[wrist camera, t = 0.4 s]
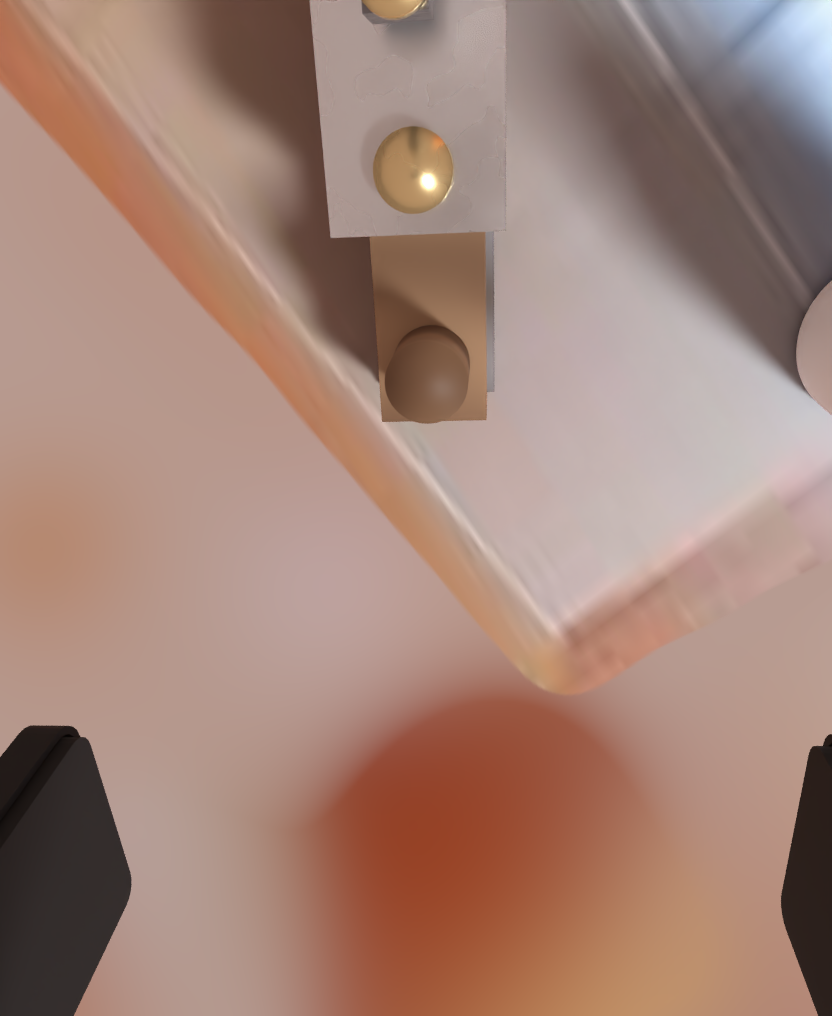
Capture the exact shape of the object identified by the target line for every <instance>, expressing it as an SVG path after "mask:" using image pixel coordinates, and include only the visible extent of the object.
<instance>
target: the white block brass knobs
mask: <svg viewBox="0 0 832 1016" xmlns="http://www.w3.org/2000/svg"><path fill="white" fill-rule="evenodd" d="M433 4H434V20H429V21H414V22H400V23H385V24H372V23H371V22H370V21H369V20H368V19H367V18H366V17H365V16H364V15H363V14H362V3H361V0H310V12H311V23H312V34H313V45H314V57H315V68H316V79H317V91H318V102H319V113H320V124H321V136H322V147H323V158H324V169H325V181H326V192H327V203H328V215H329V226H330V237H331V238H345V237H369V236H394V235H418V234H443V233H467V232H491V231H506V0H433Z"/></svg>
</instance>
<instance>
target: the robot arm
mask: <svg viewBox="0 0 832 1016" xmlns="http://www.w3.org/2000/svg"><path fill="white" fill-rule="evenodd" d="M130 891H131V874H130V870H129V867H128V864H127V860H126V857H125V854H124V851H123V848H122V845H121V841H120V838H119V835H118V831H117V828H116V825H115V822H114V819H113V815H112V812H111V809H110V806H109V803H108V799H107V796H106V793H105V790H104V786H103V783H102V780H101V777H100V774H99V770H98V768H97V764H96V761H95V758H94V755H93V751H92V748H91V745H90V743H89V741H88V740H87V739H86V738H84V737H80V735H79V733H78V731H77V730H76V729H75V728H74V727H71V726H29V727H26V728H25V729H24V730H22V731H21V732H20V733H19V735H18V736H17V737H16V738H15V739H14V741H13V742H12V743H11V744H10V746H9V747H8V748H7V750H6V751H5V752H4V753H3V754H2V756H1V757H0V1016H74V1014H75V1012H76V1009H77V1008H78V1005H79V1003H80V1001H81V999H82V997H83V994H84V993H85V991H86V989H87V987H88V985H89V982H90V980H91V978H92V976H93V974H94V972H95V970H96V968H97V966H98V964H99V961H100V959H101V957H102V955H103V953H104V951H105V949H106V947H107V944H108V943H109V941H110V938H111V936H112V934H113V932H114V930H115V928H116V926H117V924H118V922H119V919H120V917H121V915H122V913H123V911H124V909H125V907H126V905H127V902H128V899H129V896H130ZM781 908H782V915H783V920H784V924H785V927H786V930H787V933H788V936H789V939H790V941H791V944H792V947H793V949H794V952H795V955H796V957H797V960H798V963H799V965H800V968H801V971H802V973H803V976H804V979H805V981H806V984H807V987H808V989H809V992H810V995H811V997H812V1000H813V1003H814V1006H815V1008H816V1011H817V1014H818V1016H832V734H830V735H828V736H827V737H826V739H825V741H824V744H823V746H813V747H812V748H811V750H810V752H809V756H808V761H807V767H806V772H805V777H804V782H803V787H802V793H801V797H800V802H799V808H798V812H797V818H796V823H795V828H794V833H793V838H792V843H791V848H790V853H789V859H788V864H787V869H786V875H785V879H784V884H783V889H782V896H781Z"/></svg>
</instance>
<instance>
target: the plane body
mask: <svg viewBox="0 0 832 1016" xmlns="http://www.w3.org/2000/svg"><path fill="white" fill-rule="evenodd" d="M369 237H370V252H371V267H372V281H373V296H374V310H375V325H376V339H377V354H378V369H379V383H380V398H381V412H382V422H400V421H414V422H418V423H427V424H428V423H436V422H440V421H459V420H486V416H487V392H494V231H491V232H467V233H443V234H418V235H394V236H369Z"/></svg>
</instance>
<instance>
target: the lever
mask: <svg viewBox="0 0 832 1016" xmlns="http://www.w3.org/2000/svg"><path fill="white" fill-rule="evenodd" d="M361 3H362V14H363V15H364V16H365V17H366V18H367V19H368V20H369V21H370V22H371V23H372V24H385V23H400V22H414V21H429V20H434V4H433V0H361Z"/></svg>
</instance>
